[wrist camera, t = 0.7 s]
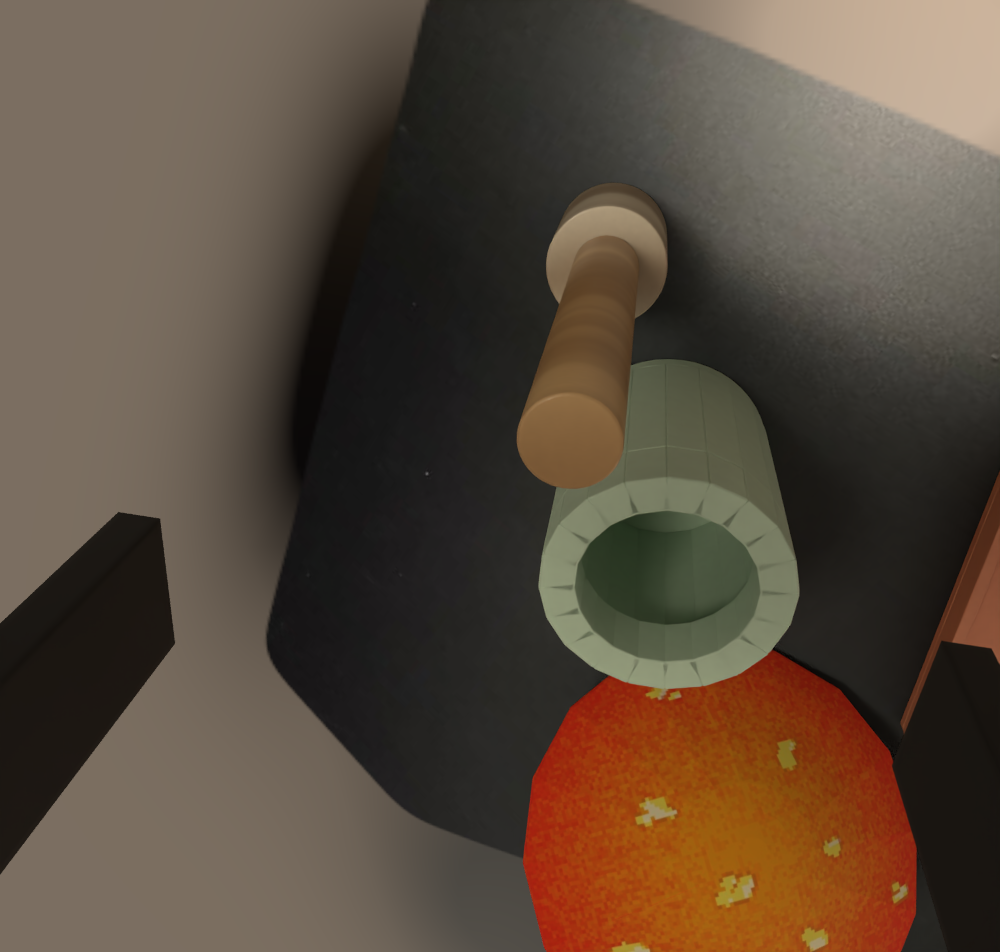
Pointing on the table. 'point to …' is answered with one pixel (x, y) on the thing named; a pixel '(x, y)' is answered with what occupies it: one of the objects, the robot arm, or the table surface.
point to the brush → (592, 333)
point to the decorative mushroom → (720, 821)
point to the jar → (675, 539)
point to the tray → (971, 597)
